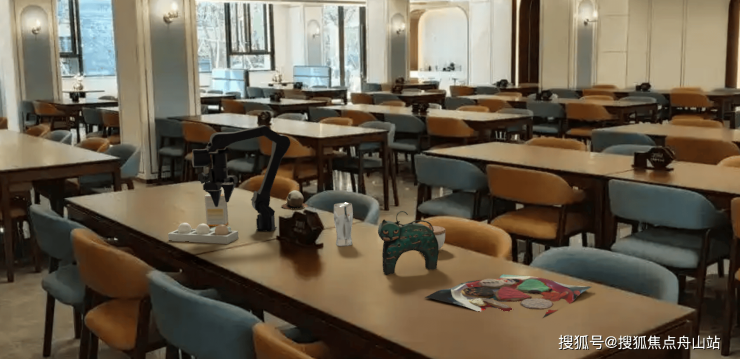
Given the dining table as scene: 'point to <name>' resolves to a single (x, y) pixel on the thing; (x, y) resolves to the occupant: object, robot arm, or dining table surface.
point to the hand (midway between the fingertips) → (221, 204)
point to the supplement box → (216, 211)
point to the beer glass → (343, 223)
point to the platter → (509, 293)
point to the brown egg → (221, 230)
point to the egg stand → (216, 226)
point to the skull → (294, 200)
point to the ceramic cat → (407, 243)
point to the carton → (200, 234)
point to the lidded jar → (439, 234)
